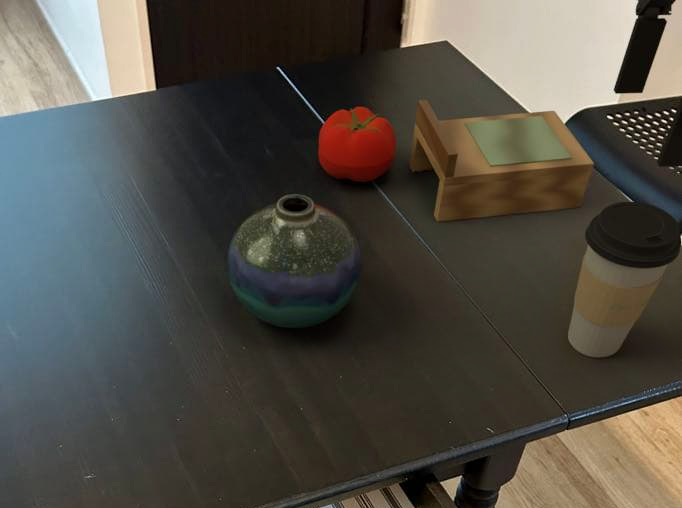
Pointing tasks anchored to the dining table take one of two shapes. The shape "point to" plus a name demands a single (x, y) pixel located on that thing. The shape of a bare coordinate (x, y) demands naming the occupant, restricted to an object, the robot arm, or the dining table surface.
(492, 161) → the wooden toy bed
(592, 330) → the coffee cup
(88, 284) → the dining table surface
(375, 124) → the tomato
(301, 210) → the vase
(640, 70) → the robot arm
